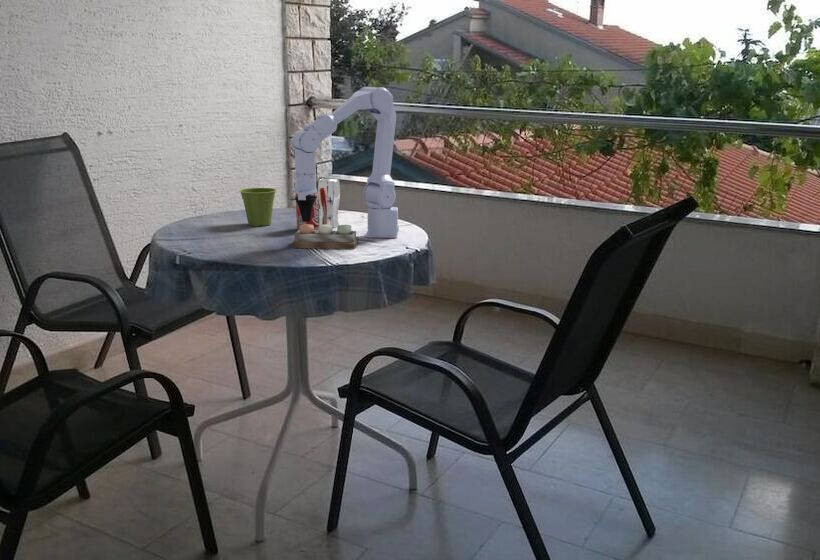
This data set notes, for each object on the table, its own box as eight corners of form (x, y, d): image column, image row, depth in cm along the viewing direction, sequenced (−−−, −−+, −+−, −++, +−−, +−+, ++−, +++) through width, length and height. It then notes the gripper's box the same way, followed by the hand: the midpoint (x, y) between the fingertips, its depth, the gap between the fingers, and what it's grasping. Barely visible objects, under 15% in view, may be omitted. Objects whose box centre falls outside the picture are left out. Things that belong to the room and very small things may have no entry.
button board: (357, 241, 228) (357, 229, 227) (354, 248, 218) (354, 236, 217) (298, 240, 229) (298, 228, 228) (292, 247, 219) (292, 235, 218)
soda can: (315, 232, 240) (314, 190, 237) (293, 231, 241) (292, 189, 238) (322, 228, 247) (321, 187, 243) (301, 226, 248) (299, 186, 245)
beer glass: (316, 227, 247) (315, 180, 243) (322, 223, 253) (321, 177, 250) (337, 228, 246) (336, 181, 242) (342, 224, 252) (342, 178, 248)
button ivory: (333, 232, 224) (333, 224, 224) (331, 235, 221) (331, 227, 220) (319, 232, 225) (319, 224, 224) (317, 235, 221) (317, 227, 220)
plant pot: (280, 221, 257) (279, 187, 254) (274, 228, 245) (272, 193, 242) (245, 220, 257) (243, 186, 254) (236, 227, 246) (235, 192, 243)
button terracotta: (314, 232, 225) (314, 224, 224) (312, 234, 221) (312, 226, 220) (301, 231, 225) (301, 224, 224) (298, 234, 221) (298, 226, 220)
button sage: (352, 232, 224) (351, 224, 224) (350, 235, 220) (350, 227, 220) (338, 232, 224) (338, 224, 224) (336, 235, 221) (336, 227, 220)
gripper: (295, 170, 225) (297, 216, 229) (286, 176, 211) (287, 225, 215) (320, 170, 225) (320, 216, 229) (312, 177, 211) (313, 226, 215)
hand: (306, 221), depth 222 cm, fingers closed
